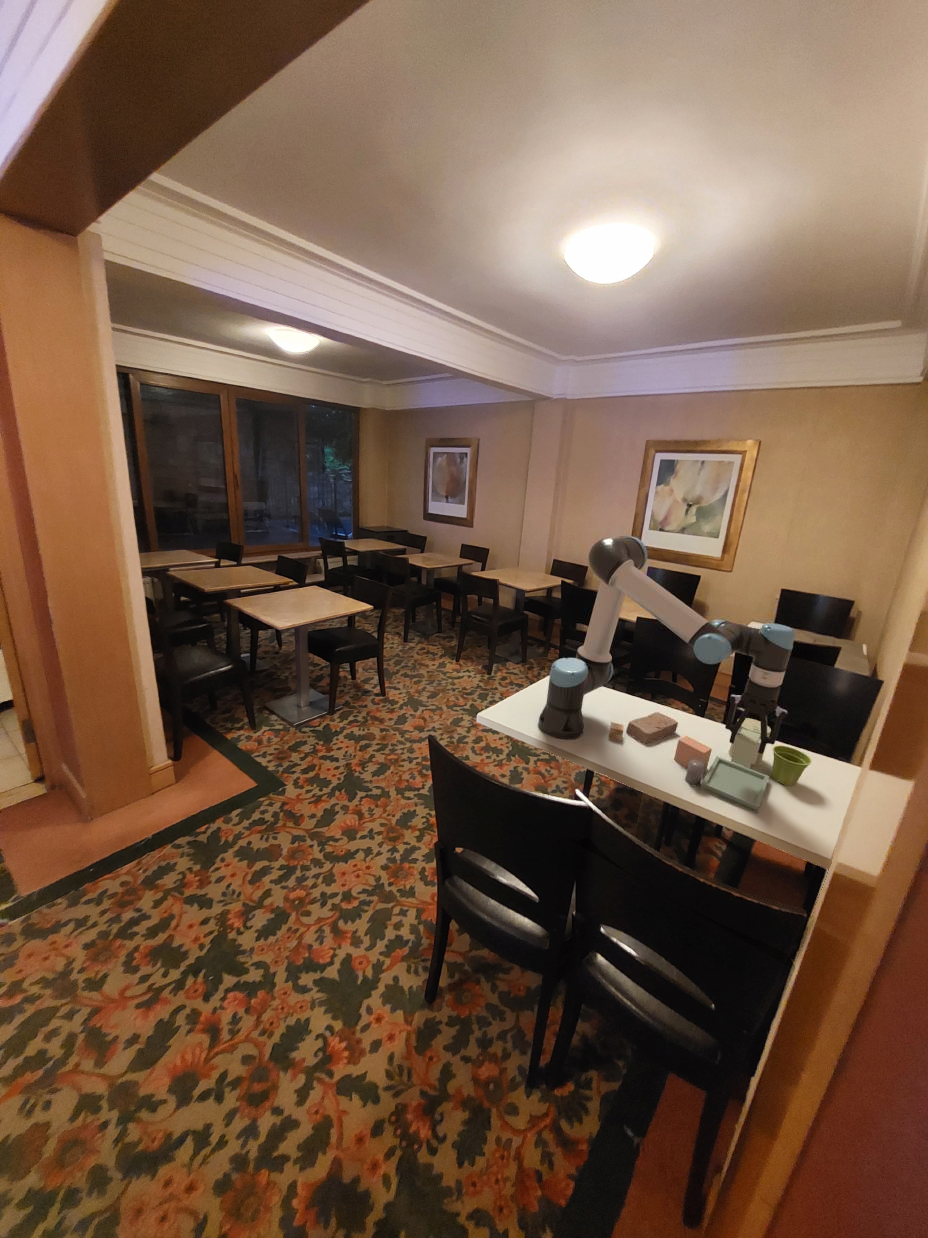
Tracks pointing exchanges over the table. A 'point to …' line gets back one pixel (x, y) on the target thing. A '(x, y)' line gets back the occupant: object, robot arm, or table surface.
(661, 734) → the brick
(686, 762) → the terracotta block
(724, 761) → the tray
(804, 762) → the plant pot
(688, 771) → the grey canister
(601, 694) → the table surface
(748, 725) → the can
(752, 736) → the sage block
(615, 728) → the oak block
